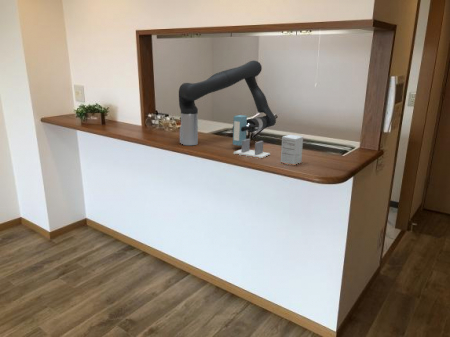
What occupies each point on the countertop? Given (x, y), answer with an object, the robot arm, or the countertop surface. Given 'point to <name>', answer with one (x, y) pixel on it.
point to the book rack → (256, 153)
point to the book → (239, 129)
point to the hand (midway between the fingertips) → (237, 128)
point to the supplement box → (291, 149)
